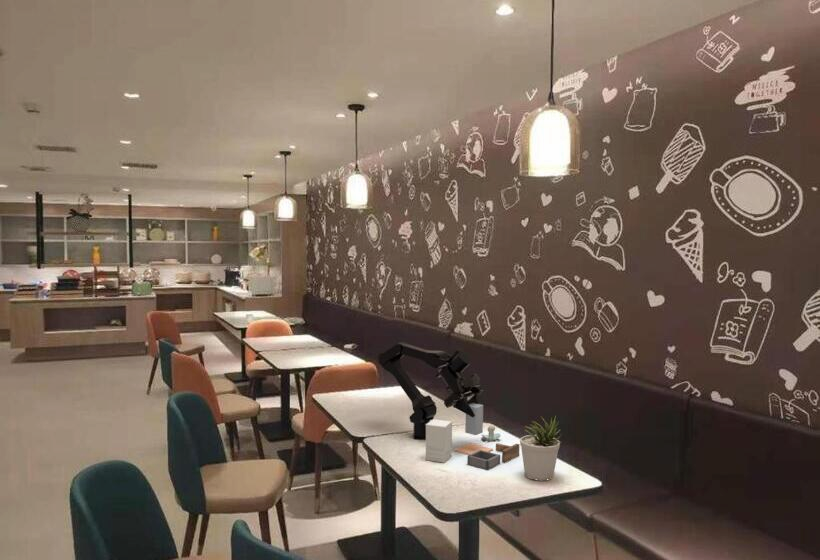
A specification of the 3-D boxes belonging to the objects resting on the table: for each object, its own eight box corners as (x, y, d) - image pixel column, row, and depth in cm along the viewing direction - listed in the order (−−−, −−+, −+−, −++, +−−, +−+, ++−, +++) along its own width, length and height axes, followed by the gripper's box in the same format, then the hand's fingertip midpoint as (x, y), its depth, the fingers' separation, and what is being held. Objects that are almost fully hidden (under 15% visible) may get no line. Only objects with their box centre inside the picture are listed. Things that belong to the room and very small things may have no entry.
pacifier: (478, 438, 228) (484, 442, 222) (478, 422, 228) (484, 426, 222) (495, 437, 230) (502, 441, 224) (495, 421, 230) (502, 425, 224)
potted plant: (536, 487, 180) (538, 423, 179) (511, 472, 193) (512, 411, 192) (569, 481, 185) (571, 419, 184) (543, 466, 198) (544, 408, 197)
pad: (454, 451, 212) (454, 449, 212) (469, 444, 220) (469, 442, 220) (478, 457, 206) (478, 456, 206) (492, 450, 214) (492, 448, 214)
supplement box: (452, 456, 207) (453, 421, 206) (444, 463, 200) (445, 426, 199) (433, 453, 210) (433, 418, 209) (424, 460, 203) (425, 423, 202)
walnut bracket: (482, 456, 207) (482, 445, 206) (497, 449, 214) (497, 438, 214) (505, 462, 201) (505, 451, 201) (519, 455, 209) (519, 444, 209)
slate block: (465, 432, 213) (465, 405, 212) (472, 429, 216) (472, 403, 216) (475, 435, 210) (476, 407, 209) (482, 432, 213) (483, 405, 213)
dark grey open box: (467, 464, 199) (467, 455, 199) (480, 458, 205) (480, 449, 205) (487, 470, 194) (487, 461, 194) (500, 463, 200) (500, 454, 200)
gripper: (451, 371, 207) (477, 407, 201) (480, 363, 221) (505, 397, 215) (433, 389, 212) (457, 425, 206) (462, 381, 227) (486, 414, 220)
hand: (477, 415), depth 212 cm, fingers closed on slate block, 4 cm apart
